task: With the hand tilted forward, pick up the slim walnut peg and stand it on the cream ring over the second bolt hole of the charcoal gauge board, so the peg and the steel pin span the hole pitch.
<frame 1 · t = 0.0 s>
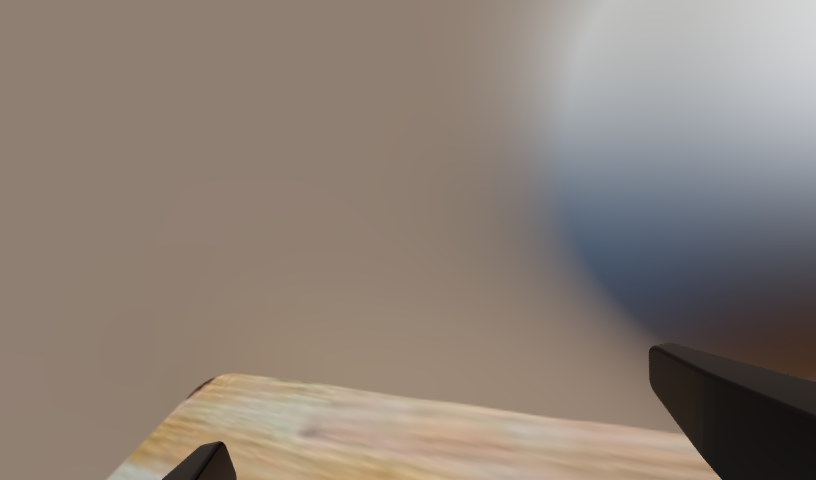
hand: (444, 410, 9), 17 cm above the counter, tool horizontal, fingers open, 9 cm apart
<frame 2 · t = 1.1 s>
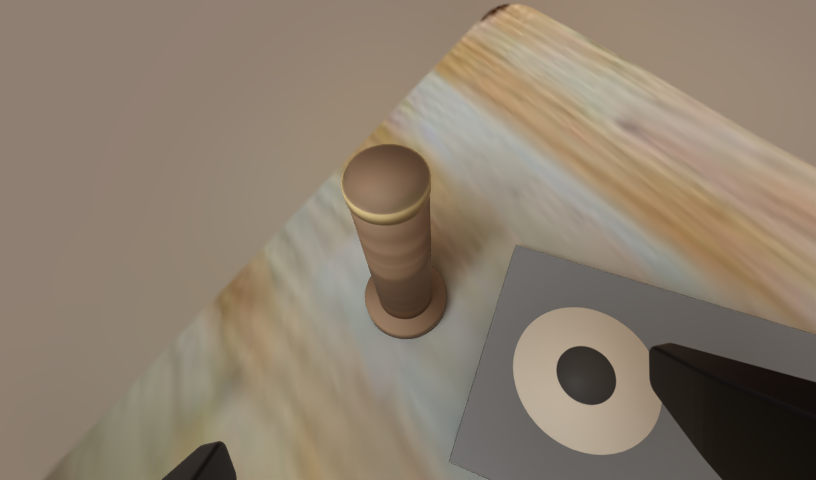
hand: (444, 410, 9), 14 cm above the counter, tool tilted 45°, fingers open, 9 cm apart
walnut peg: (406, 300, 24), on the counter
gauge board: (682, 417, 20), on the counter
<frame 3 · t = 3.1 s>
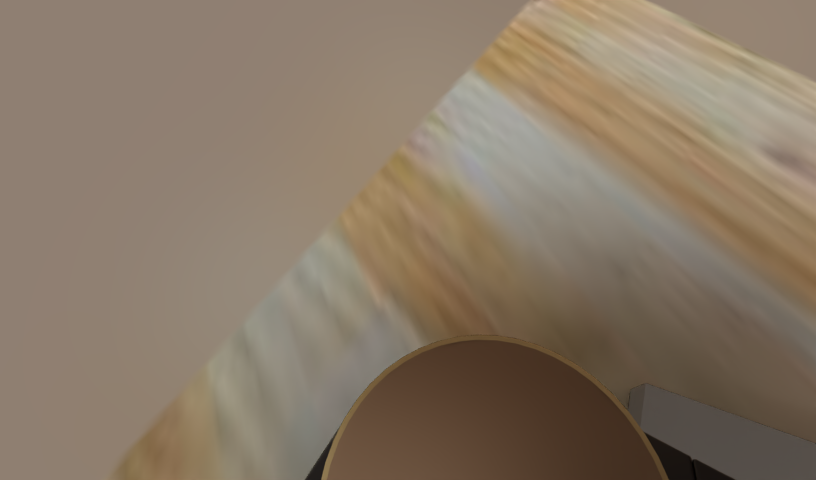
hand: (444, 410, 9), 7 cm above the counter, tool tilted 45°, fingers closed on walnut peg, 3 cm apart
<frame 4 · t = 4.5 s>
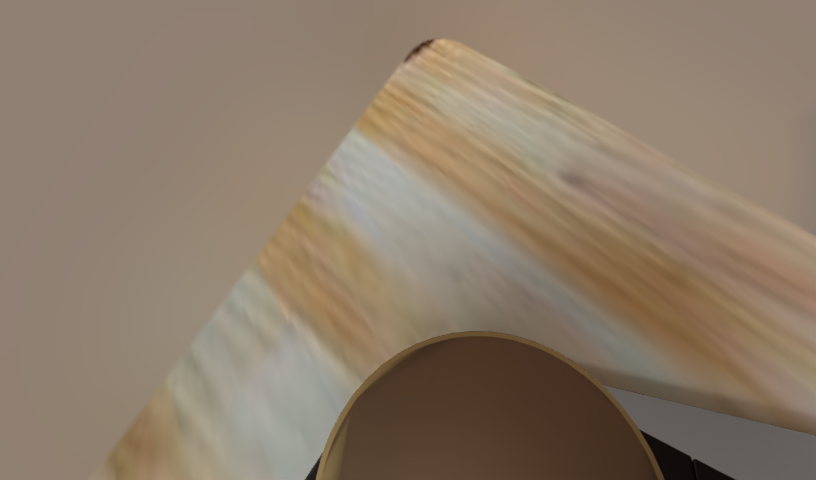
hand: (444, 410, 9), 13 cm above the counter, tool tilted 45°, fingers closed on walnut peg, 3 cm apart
walnut peg: (449, 478, 14), point 7 cm above the counter, touching gripper
when the fingers open (9 cm above the counter, at t = 5.9 s): walnut peg stays where it is, resting on gauge board.
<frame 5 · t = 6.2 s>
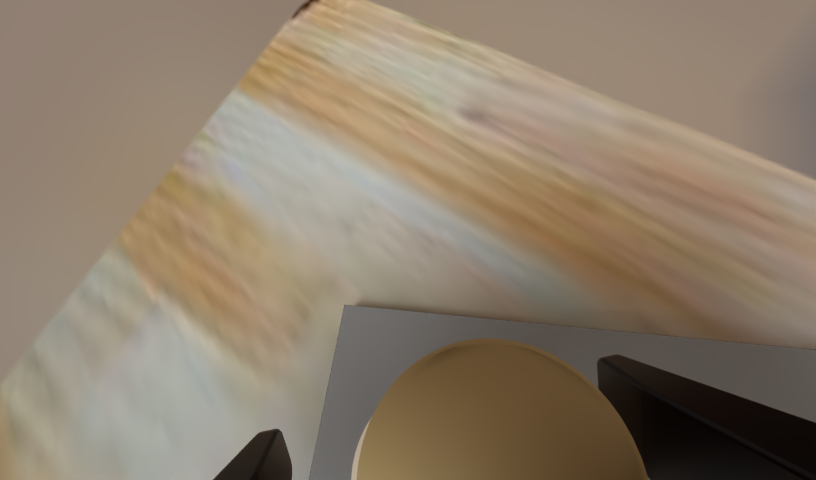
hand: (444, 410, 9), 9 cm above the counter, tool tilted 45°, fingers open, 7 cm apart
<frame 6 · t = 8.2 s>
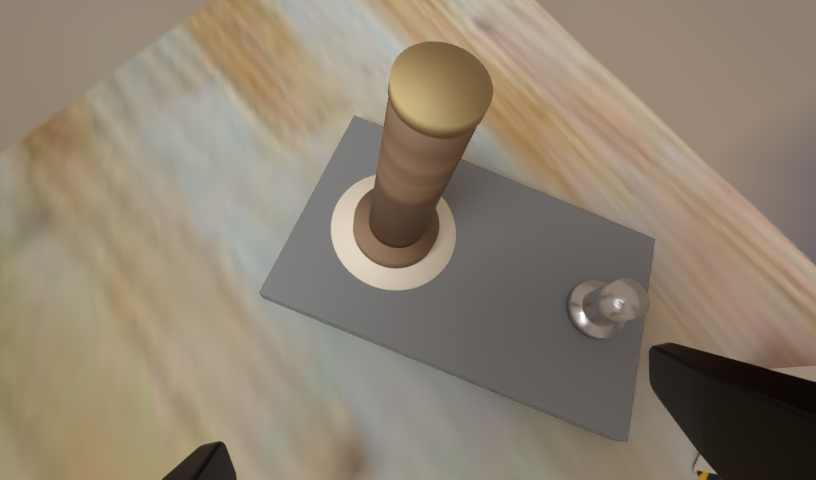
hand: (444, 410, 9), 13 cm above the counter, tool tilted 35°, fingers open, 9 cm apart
walnut peg: (394, 228, 23), point 1 cm above the counter, touching gauge board
gauge board: (471, 269, 24), on the counter
steel pin: (581, 314, 24), resting on gauge board
medicine bottle: (764, 462, 23), on the counter
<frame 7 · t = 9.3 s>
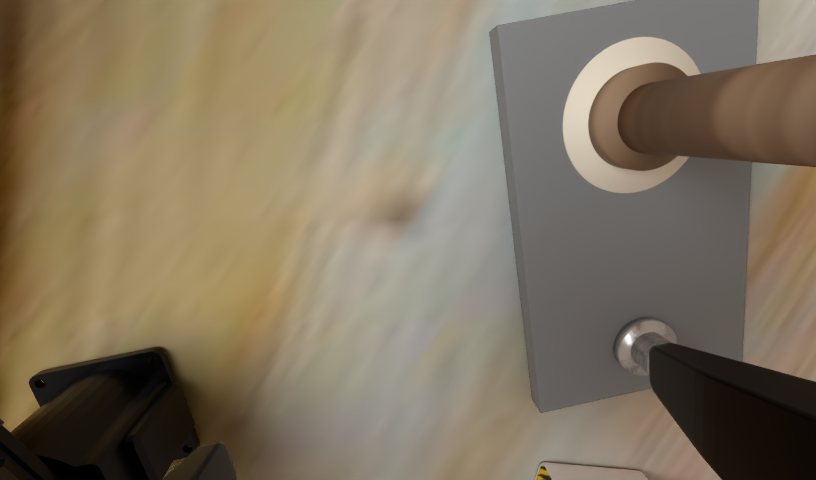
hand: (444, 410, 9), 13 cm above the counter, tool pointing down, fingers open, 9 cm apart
walnut peg: (635, 119, 19), point 1 cm above the counter, touching gauge board
gauge board: (623, 216, 22), on the counter
steel pin: (627, 333, 24), resting on gauge board
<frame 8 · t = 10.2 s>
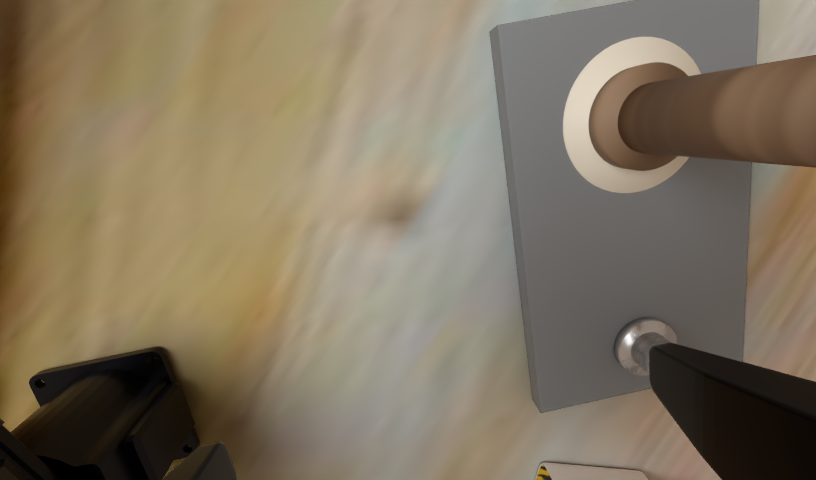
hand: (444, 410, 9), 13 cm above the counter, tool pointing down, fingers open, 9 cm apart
walnut peg: (636, 118, 19), point 1 cm above the counter, touching gauge board
gauge board: (623, 216, 22), on the counter
steel pin: (628, 333, 24), resting on gauge board
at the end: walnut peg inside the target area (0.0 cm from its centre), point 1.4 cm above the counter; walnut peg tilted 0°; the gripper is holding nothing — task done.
